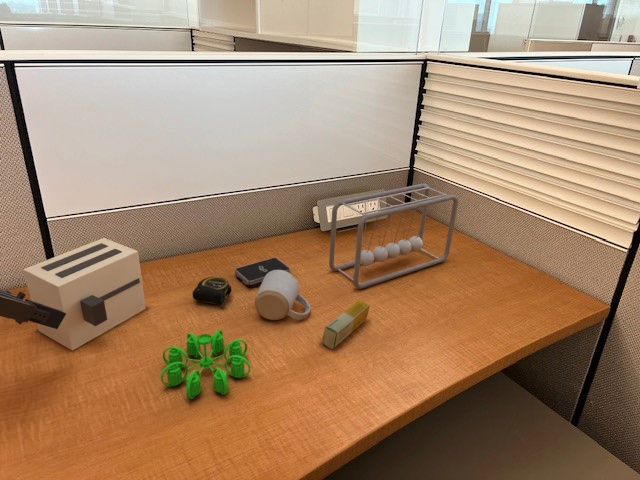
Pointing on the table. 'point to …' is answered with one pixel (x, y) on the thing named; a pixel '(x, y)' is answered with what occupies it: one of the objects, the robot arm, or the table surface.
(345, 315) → the medication box
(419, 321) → the table surface
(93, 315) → the slider button
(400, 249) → the newton's cradle
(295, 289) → the ceramic mug
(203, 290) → the tape measure
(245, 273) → the external hard drive
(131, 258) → the toaster
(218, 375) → the chandelier
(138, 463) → the table surface
